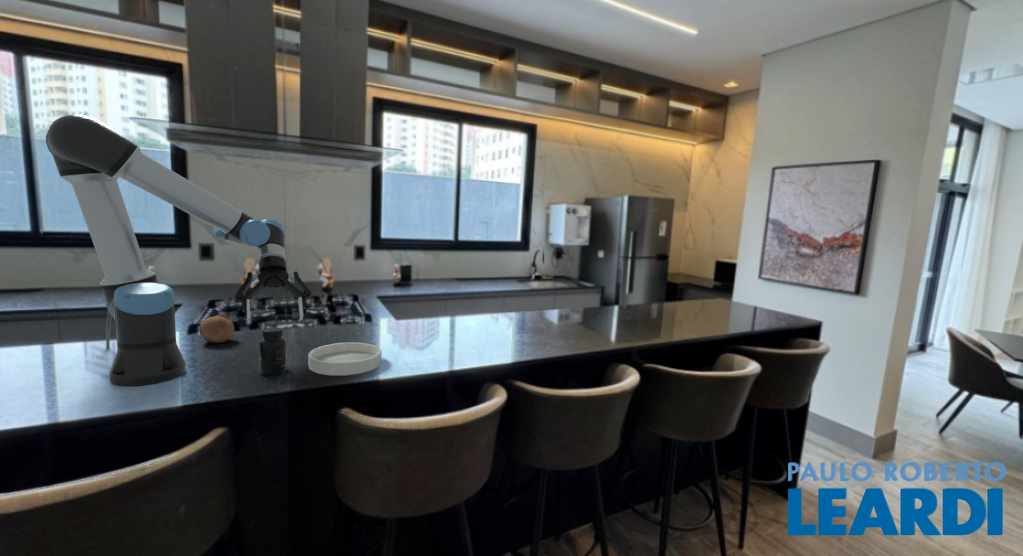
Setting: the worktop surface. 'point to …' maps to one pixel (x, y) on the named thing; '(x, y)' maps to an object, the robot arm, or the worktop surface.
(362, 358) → the round tray
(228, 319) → the onion
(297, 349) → the worktop surface
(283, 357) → the supplement bottle
